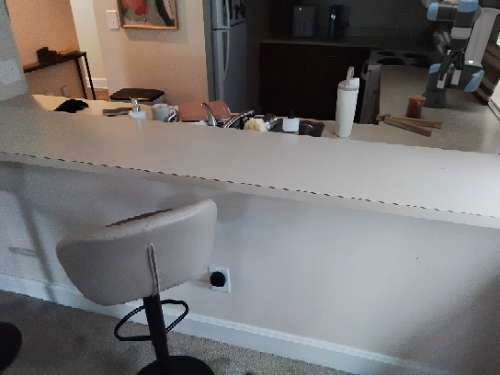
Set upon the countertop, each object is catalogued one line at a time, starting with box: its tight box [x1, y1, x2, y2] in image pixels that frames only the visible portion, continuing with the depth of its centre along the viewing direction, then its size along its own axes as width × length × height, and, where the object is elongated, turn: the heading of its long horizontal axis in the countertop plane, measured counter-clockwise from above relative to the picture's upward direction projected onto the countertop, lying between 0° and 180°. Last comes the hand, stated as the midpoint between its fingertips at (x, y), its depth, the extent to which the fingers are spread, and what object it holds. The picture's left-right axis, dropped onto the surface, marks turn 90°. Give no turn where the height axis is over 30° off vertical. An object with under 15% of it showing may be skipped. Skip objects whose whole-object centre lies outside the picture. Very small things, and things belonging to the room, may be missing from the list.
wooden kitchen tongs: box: [375, 113, 433, 137], centre depth 184 cm, size 5×29×3 cm, turn 36°
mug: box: [405, 94, 426, 119], centre depth 197 cm, size 12×9×10 cm
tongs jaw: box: [391, 115, 443, 129], centre depth 188 cm, size 3×23×3 cm, turn 68°
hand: (447, 85), depth 180 cm, fingers open, 13 cm apart
